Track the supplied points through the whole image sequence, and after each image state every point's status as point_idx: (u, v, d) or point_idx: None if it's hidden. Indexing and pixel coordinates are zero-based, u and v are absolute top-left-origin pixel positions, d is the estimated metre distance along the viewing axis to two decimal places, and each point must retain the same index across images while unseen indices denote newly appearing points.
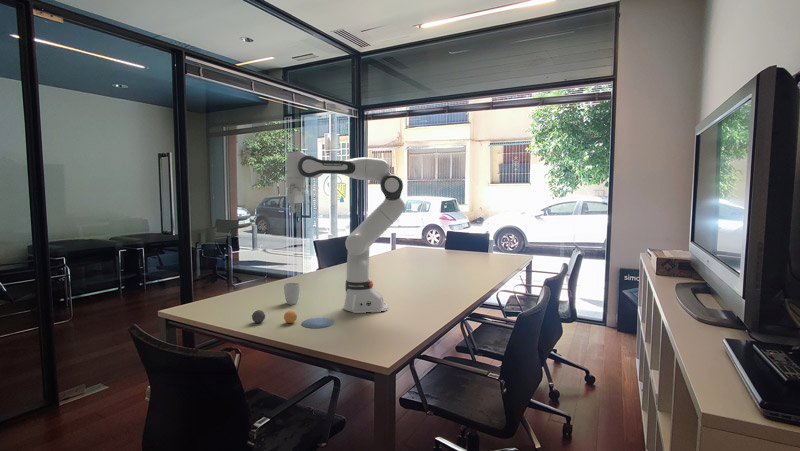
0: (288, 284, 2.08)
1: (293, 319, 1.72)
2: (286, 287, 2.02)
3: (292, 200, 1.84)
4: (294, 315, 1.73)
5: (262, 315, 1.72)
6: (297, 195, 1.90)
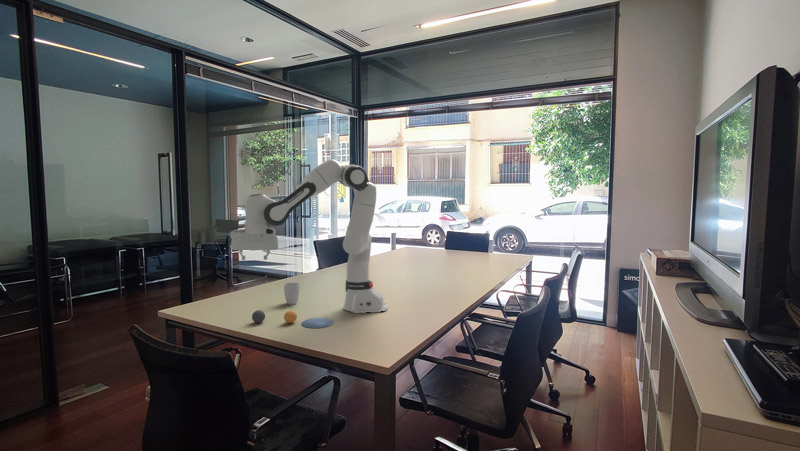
0: (288, 284, 2.08)
1: (293, 319, 1.72)
2: (286, 287, 2.02)
3: None
4: (294, 315, 1.73)
5: (262, 315, 1.72)
6: (246, 241, 1.75)
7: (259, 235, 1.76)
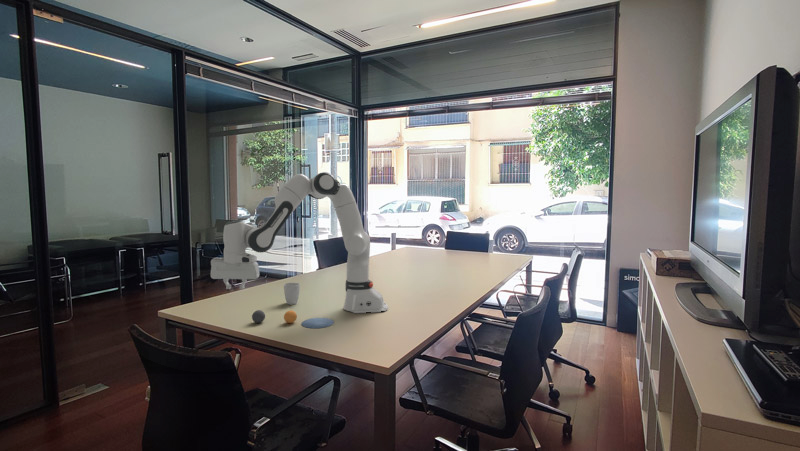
0: (288, 284, 2.08)
1: (293, 319, 1.72)
2: (286, 287, 2.02)
3: None
4: (294, 315, 1.73)
5: (262, 315, 1.72)
6: (224, 270, 1.70)
7: (236, 264, 1.69)
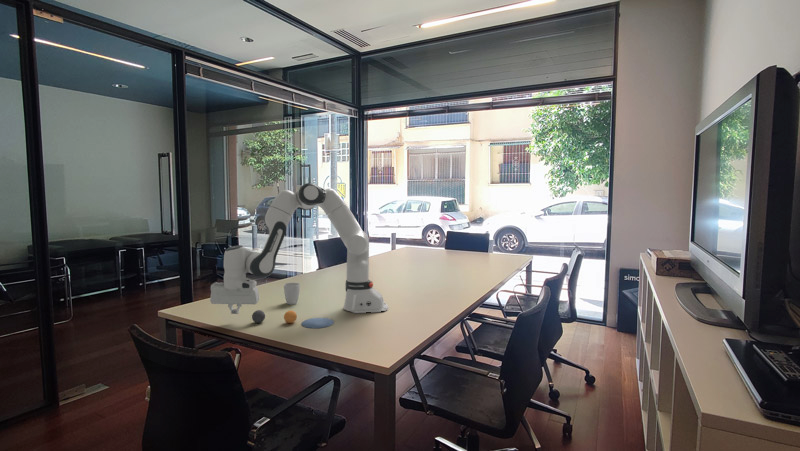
0: (288, 284, 2.08)
1: (293, 319, 1.72)
2: (286, 287, 2.02)
3: None
4: (294, 315, 1.73)
5: (262, 315, 1.72)
6: (224, 295, 1.71)
7: (236, 289, 1.70)
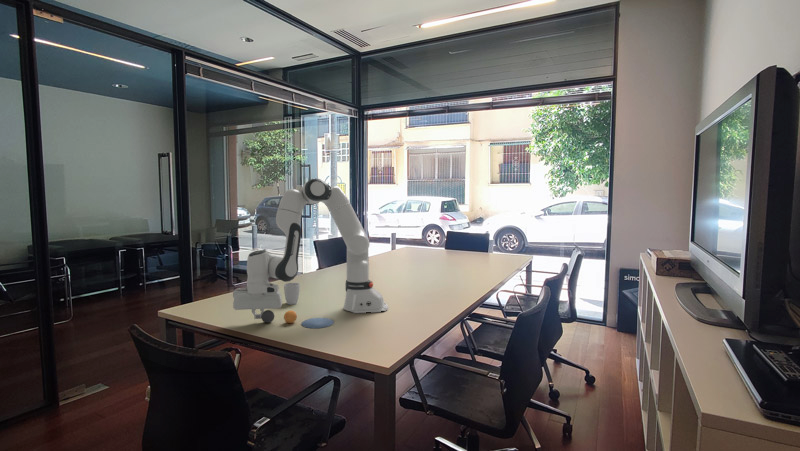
0: (288, 284, 2.08)
1: (293, 319, 1.72)
2: (286, 287, 2.02)
3: None
4: (294, 315, 1.73)
5: (271, 320, 1.73)
6: (248, 301, 1.71)
7: (260, 294, 1.71)
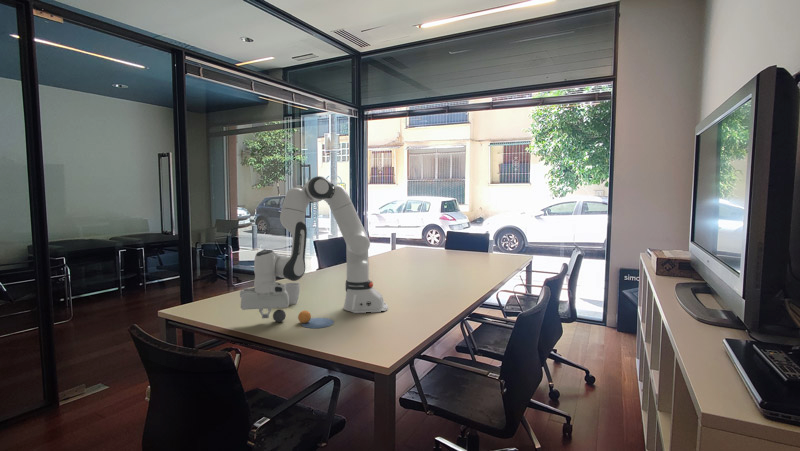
0: (288, 284, 2.08)
1: (299, 320, 1.72)
2: (286, 287, 2.02)
3: None
4: (302, 322, 1.73)
5: (274, 319, 1.73)
6: (255, 300, 1.70)
7: (268, 293, 1.71)
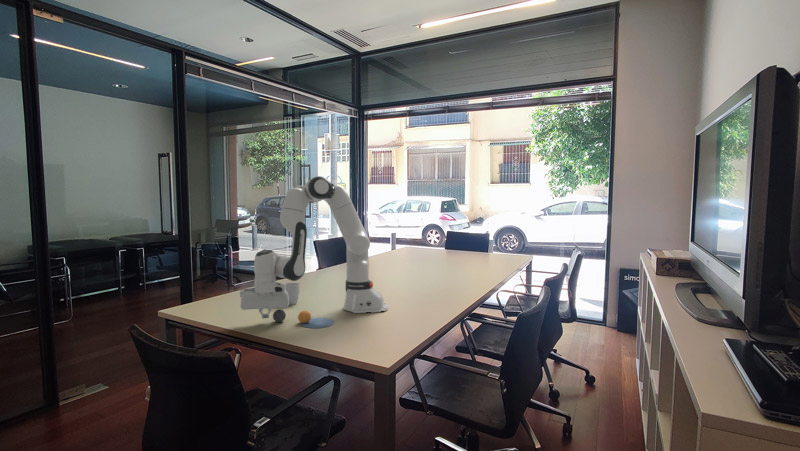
0: (288, 284, 2.08)
1: (299, 320, 1.72)
2: (286, 287, 2.02)
3: None
4: (302, 322, 1.73)
5: (274, 319, 1.73)
6: (255, 300, 1.70)
7: (268, 293, 1.71)
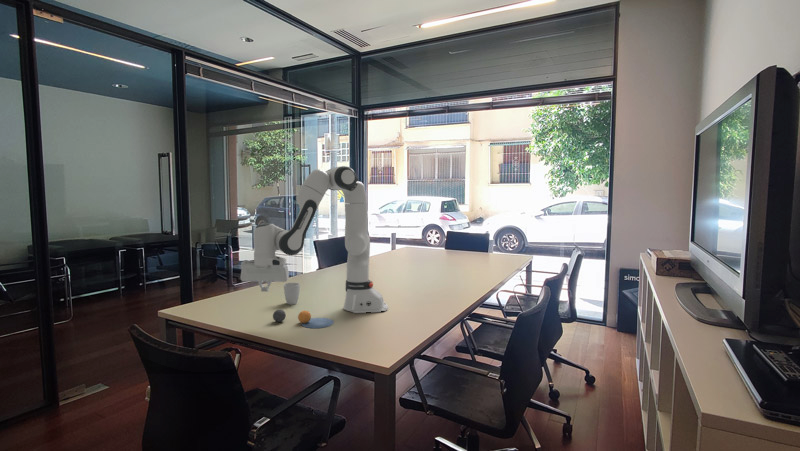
0: (288, 284, 2.08)
1: (299, 320, 1.72)
2: (286, 287, 2.02)
3: None
4: (302, 322, 1.73)
5: (274, 319, 1.73)
6: (254, 273, 1.70)
7: (266, 266, 1.69)
